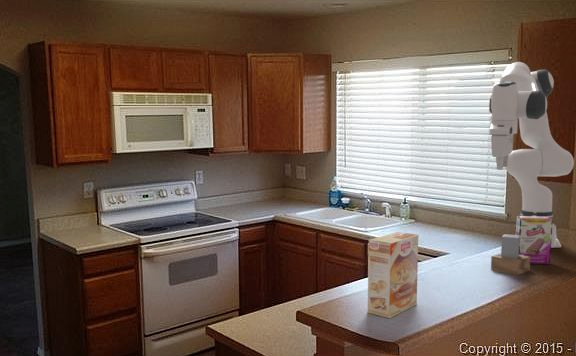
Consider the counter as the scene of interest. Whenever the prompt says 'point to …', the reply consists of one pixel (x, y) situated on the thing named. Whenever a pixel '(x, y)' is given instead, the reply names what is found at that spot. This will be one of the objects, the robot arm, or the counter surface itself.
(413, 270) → the coffeecake box
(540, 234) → the candy bar box
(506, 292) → the counter surface
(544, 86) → the robot arm
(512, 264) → the tan block
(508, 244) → the grey plastic block
